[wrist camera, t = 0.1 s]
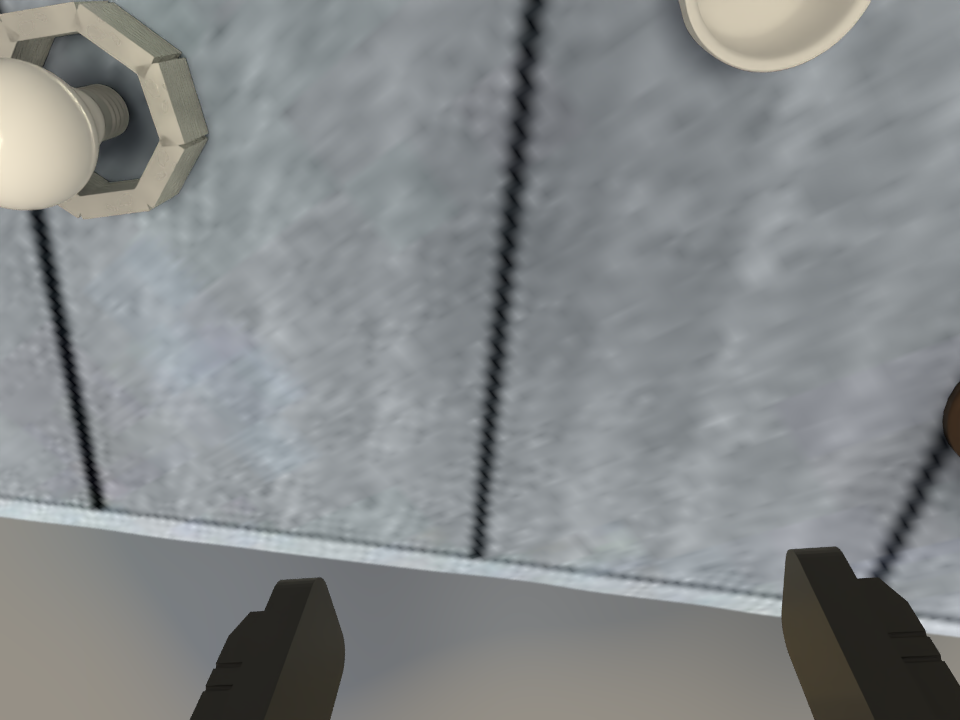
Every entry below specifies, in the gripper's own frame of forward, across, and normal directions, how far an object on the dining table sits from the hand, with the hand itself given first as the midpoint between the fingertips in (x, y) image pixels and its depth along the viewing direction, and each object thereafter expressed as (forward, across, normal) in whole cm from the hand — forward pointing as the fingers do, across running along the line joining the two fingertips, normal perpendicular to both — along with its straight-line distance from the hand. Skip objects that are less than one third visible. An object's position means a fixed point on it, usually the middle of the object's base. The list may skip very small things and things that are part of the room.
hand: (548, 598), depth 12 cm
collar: (+29, +22, -7) cm, 37 cm away
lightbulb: (+29, +22, -7) cm, 37 cm away
